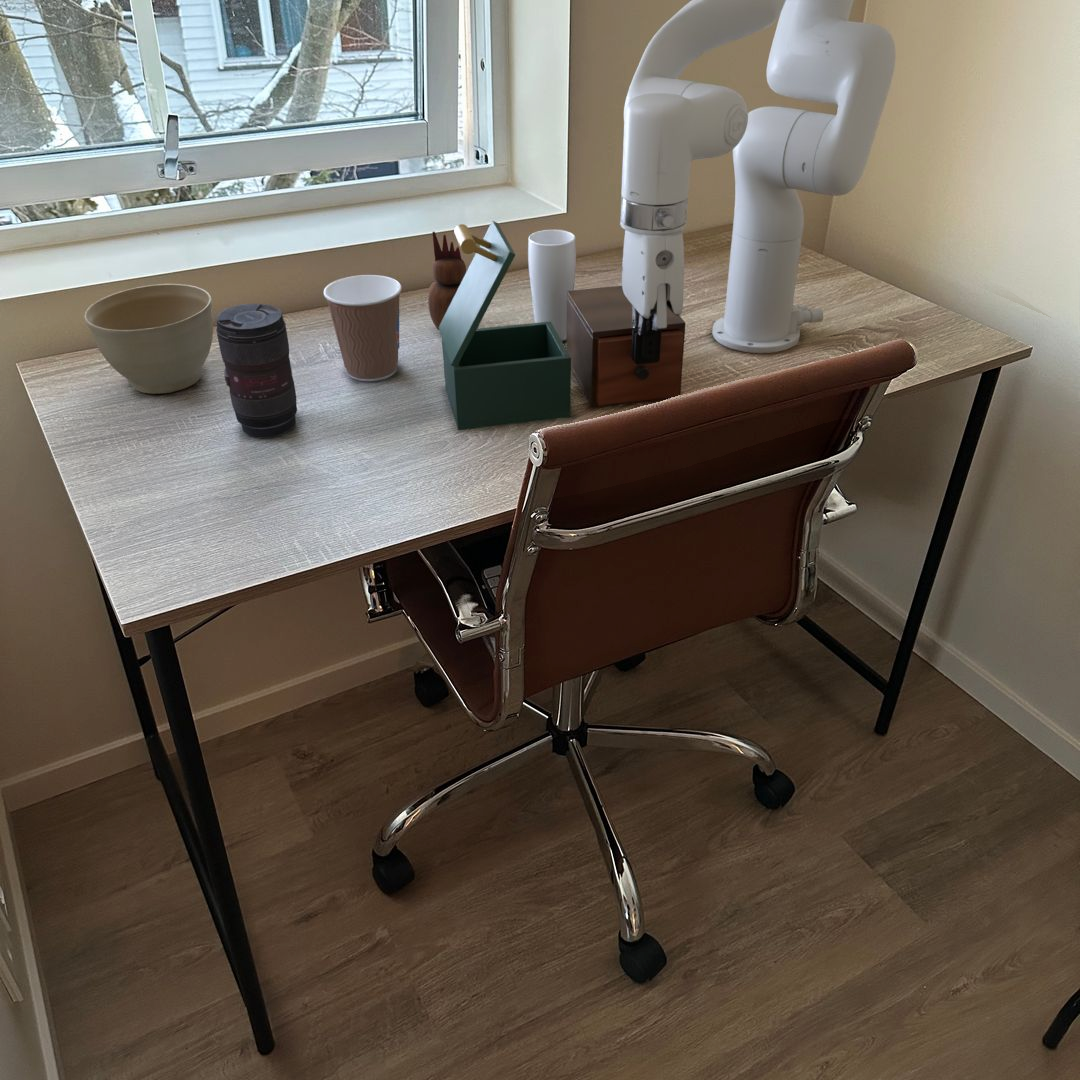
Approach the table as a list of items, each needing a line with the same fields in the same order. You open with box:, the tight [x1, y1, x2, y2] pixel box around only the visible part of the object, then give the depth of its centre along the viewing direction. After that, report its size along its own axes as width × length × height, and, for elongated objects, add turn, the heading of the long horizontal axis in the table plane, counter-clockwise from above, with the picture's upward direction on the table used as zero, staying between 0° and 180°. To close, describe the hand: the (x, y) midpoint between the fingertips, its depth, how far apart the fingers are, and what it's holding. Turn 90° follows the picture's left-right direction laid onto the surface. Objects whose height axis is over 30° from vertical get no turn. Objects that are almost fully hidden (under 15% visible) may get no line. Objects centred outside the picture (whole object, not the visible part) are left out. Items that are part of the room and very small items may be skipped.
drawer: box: [596, 330, 684, 406], centre depth 134 cm, size 14×11×9 cm
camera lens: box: [215, 303, 298, 439], centre depth 126 cm, size 8×8×15 cm
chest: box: [441, 322, 572, 431], centre depth 132 cm, size 15×12×8 cm
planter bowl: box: [84, 283, 214, 395], centre depth 138 cm, size 16×16×11 cm
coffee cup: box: [323, 274, 403, 382], centre depth 139 cm, size 10×10×12 cm
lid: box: [438, 220, 516, 367], centre depth 124 cm, size 15×12×5 cm
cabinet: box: [566, 285, 686, 409], centre depth 136 cm, size 14×12×11 cm
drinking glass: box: [527, 229, 577, 342], centre depth 147 cm, size 7×7×15 cm
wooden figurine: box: [427, 231, 467, 331], centre depth 149 cm, size 7×6×15 cm
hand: (645, 360), depth 127 cm, fingers closed
